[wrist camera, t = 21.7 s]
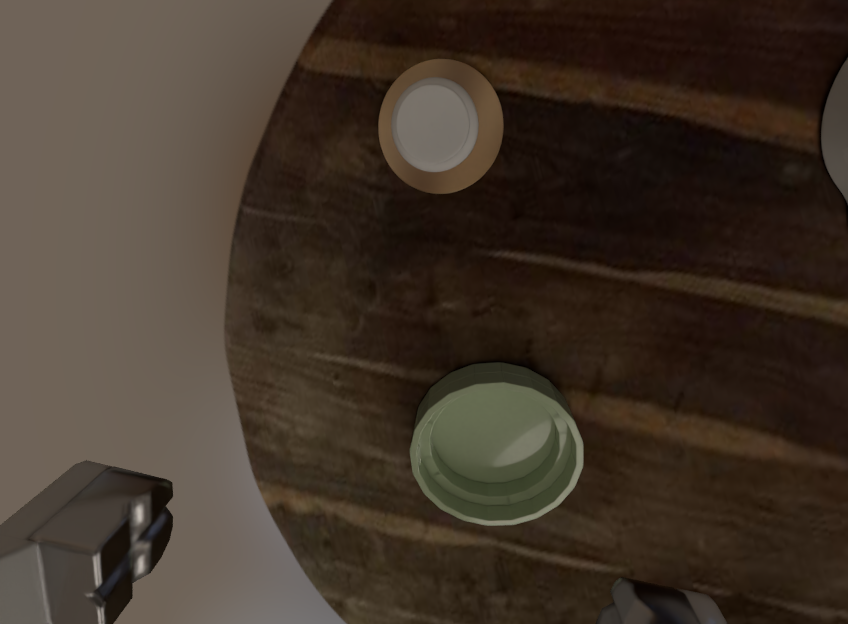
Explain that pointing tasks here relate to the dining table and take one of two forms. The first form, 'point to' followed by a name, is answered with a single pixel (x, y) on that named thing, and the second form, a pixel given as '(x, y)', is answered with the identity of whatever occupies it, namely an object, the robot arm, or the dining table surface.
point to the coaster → (487, 131)
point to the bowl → (495, 445)
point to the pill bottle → (434, 124)
